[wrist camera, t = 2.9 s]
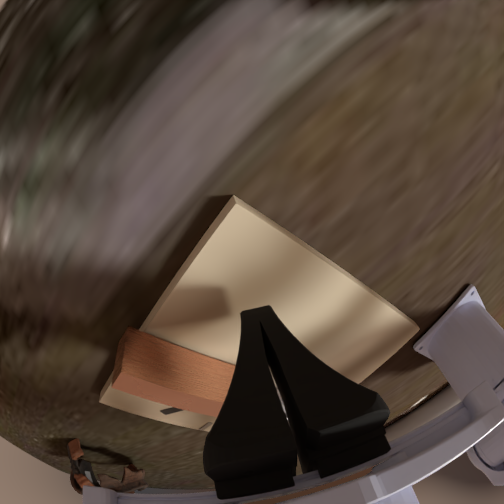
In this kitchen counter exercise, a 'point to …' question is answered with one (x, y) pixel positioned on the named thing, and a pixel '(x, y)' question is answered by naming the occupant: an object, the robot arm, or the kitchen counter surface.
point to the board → (262, 294)
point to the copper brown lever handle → (171, 374)
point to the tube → (423, 414)
